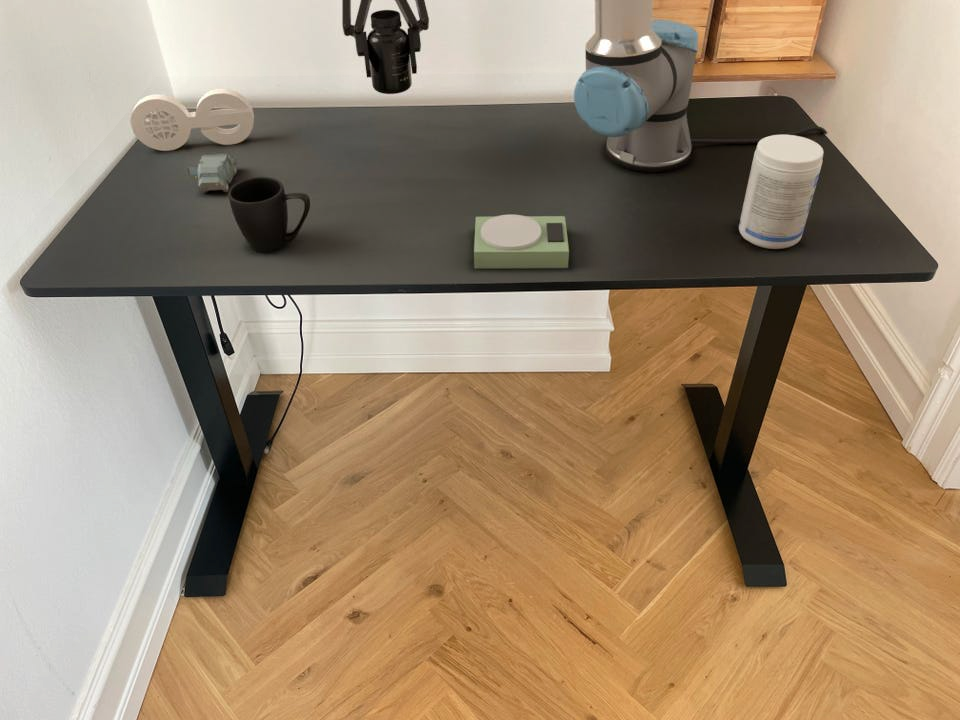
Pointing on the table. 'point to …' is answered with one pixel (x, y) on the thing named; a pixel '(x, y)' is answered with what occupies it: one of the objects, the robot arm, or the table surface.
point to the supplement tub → (780, 190)
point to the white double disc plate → (191, 119)
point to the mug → (264, 212)
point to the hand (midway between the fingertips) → (391, 71)
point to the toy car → (214, 172)
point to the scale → (521, 242)
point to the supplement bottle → (389, 53)
